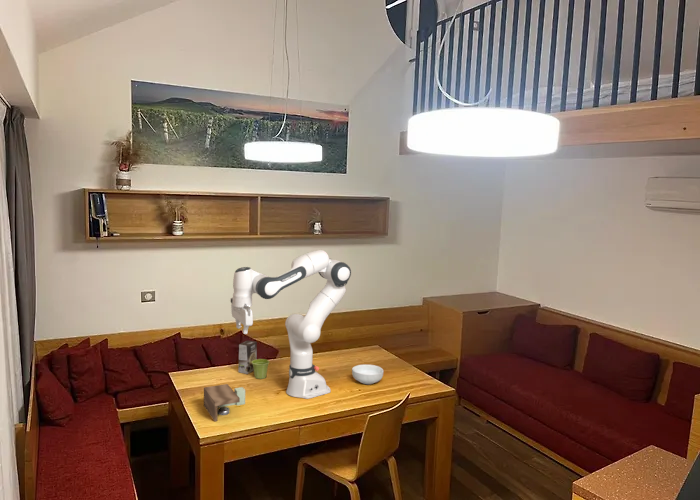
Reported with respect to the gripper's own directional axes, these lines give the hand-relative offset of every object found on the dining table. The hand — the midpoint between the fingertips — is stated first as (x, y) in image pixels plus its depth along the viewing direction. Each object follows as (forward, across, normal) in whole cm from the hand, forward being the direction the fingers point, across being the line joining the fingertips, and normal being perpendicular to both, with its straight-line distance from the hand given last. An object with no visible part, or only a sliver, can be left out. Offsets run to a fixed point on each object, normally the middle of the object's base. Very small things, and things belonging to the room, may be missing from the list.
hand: (241, 330), depth 260 cm
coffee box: (+36, +40, -18) cm, 56 cm away
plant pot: (+36, +28, -21) cm, 50 cm away
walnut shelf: (+35, -6, +11) cm, 38 cm away
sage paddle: (+35, 0, +6) cm, 36 cm away
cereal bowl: (+35, -1, -70) cm, 79 cm away
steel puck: (+36, -8, +10) cm, 38 cm away
